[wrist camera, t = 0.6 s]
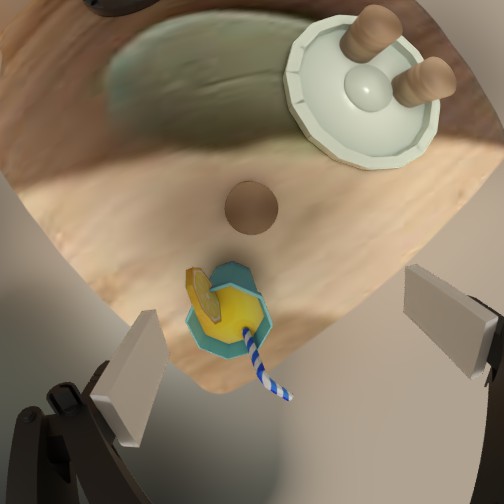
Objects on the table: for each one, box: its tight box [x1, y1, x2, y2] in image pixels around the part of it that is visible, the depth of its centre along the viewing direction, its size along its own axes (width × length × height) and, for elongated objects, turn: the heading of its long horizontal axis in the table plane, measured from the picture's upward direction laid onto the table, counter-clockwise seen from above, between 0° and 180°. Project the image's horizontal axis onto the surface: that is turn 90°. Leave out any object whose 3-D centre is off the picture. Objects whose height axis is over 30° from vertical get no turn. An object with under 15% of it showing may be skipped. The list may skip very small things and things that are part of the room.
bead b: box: [391, 57, 456, 108], centre depth 25 cm, size 5×5×8 cm
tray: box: [283, 15, 440, 170], centre depth 29 cm, size 20×20×2 cm
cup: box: [185, 262, 293, 401], centre depth 29 cm, size 14×8×15 cm, turn 42°
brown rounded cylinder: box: [339, 5, 403, 64], centre depth 24 cm, size 5×5×8 cm
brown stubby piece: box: [225, 181, 278, 235], centre depth 29 cm, size 5×5×8 cm
